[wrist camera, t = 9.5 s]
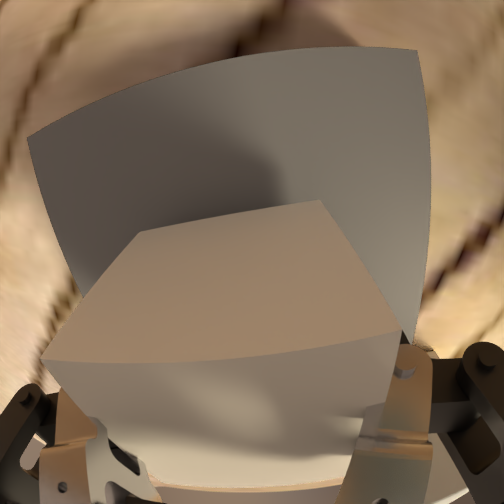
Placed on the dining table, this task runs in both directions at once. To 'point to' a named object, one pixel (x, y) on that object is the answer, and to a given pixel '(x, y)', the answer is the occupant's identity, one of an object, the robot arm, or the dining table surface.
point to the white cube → (232, 349)
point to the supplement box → (443, 472)
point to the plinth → (252, 158)
